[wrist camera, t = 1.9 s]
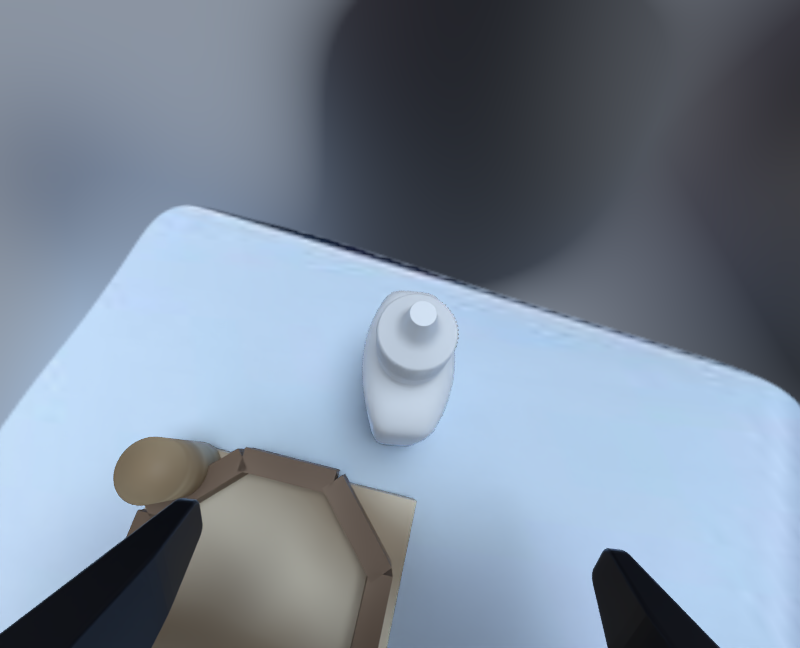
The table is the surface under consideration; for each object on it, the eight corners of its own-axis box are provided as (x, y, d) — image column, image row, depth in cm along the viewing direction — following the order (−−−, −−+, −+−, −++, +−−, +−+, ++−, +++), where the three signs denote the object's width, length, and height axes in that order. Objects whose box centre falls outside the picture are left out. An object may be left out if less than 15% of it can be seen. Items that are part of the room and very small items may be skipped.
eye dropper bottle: (335, 413, 21) (284, 354, 9) (394, 331, 22) (411, 197, 11) (403, 461, 20) (438, 461, 9) (458, 372, 22) (547, 276, 10)
